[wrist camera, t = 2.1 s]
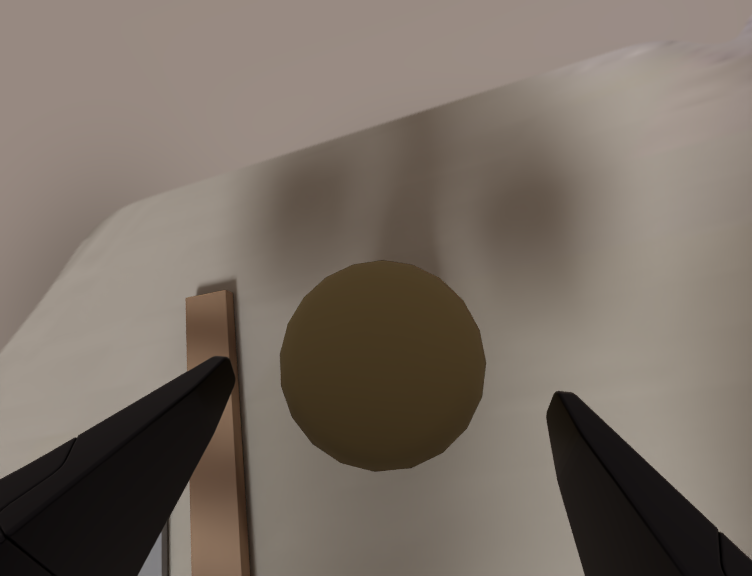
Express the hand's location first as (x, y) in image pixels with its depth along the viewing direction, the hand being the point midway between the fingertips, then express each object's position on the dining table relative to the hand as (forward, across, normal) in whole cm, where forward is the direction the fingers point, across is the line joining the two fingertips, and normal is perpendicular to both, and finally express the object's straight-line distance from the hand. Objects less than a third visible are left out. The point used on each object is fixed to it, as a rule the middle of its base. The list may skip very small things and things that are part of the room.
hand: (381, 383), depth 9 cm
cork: (+7, 0, +6) cm, 9 cm away
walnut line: (+2, +8, +10) cm, 13 cm away
